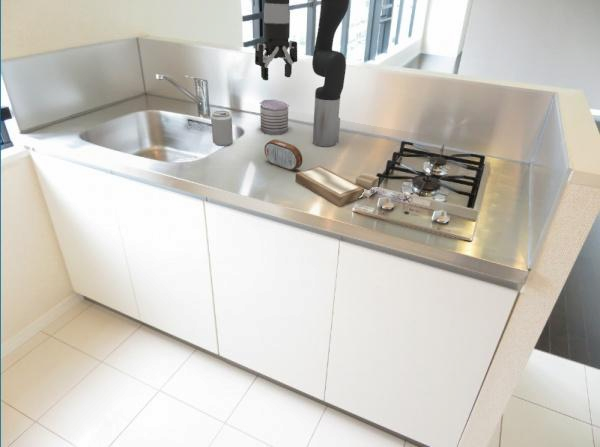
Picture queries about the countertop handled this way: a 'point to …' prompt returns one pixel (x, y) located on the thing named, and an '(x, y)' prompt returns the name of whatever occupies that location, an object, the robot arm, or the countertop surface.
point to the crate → (367, 181)
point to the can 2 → (274, 117)
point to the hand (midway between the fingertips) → (276, 78)
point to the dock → (329, 185)
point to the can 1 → (222, 128)
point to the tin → (283, 154)
